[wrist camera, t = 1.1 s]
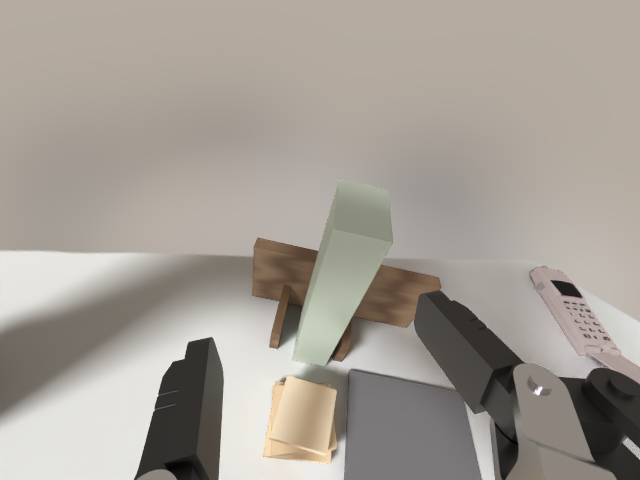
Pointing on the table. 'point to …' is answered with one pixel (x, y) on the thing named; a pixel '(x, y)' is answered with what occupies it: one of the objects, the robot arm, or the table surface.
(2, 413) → the table surface
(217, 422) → the robot arm
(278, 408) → the offcut stack
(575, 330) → the mobile phone
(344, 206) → the sage green pillar
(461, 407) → the charcoal mat
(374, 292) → the walnut rack
